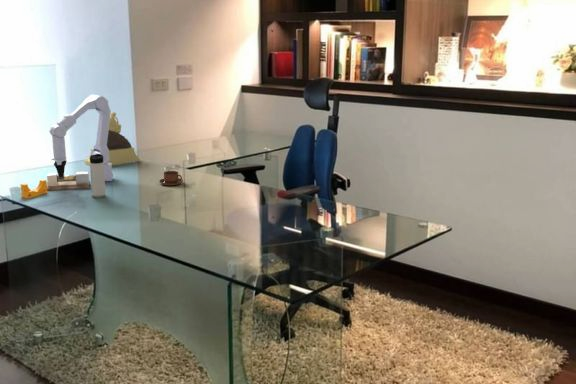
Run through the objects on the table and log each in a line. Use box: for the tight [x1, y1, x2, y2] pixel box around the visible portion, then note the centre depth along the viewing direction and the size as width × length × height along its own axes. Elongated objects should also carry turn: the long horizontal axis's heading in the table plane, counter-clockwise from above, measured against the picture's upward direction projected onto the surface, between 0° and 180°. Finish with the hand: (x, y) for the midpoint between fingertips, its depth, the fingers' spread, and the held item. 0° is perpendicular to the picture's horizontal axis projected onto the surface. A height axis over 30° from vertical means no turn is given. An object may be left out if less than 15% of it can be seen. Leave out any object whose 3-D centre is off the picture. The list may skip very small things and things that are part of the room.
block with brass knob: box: [57, 174, 76, 182], centre depth 322 cm, size 14×3×7 cm, turn 105°
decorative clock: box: [84, 111, 141, 167], centre depth 373 cm, size 28×13×30 cm, turn 130°
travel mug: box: [89, 154, 107, 199], centre depth 305 cm, size 6×7×20 cm
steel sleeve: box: [75, 171, 90, 186], centre depth 325 cm, size 6×5×6 cm
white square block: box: [46, 172, 58, 186], centre depth 321 cm, size 4×5×6 cm
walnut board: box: [46, 181, 90, 192], centre depth 324 cm, size 21×14×1 cm, turn 105°
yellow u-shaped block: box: [20, 179, 48, 200], centre depth 306 cm, size 12×4×6 cm, turn 144°
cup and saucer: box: [158, 170, 184, 186], centre depth 332 cm, size 12×12×6 cm
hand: (61, 175), depth 322 cm, fingers closed on block with brass knob, 3 cm apart
